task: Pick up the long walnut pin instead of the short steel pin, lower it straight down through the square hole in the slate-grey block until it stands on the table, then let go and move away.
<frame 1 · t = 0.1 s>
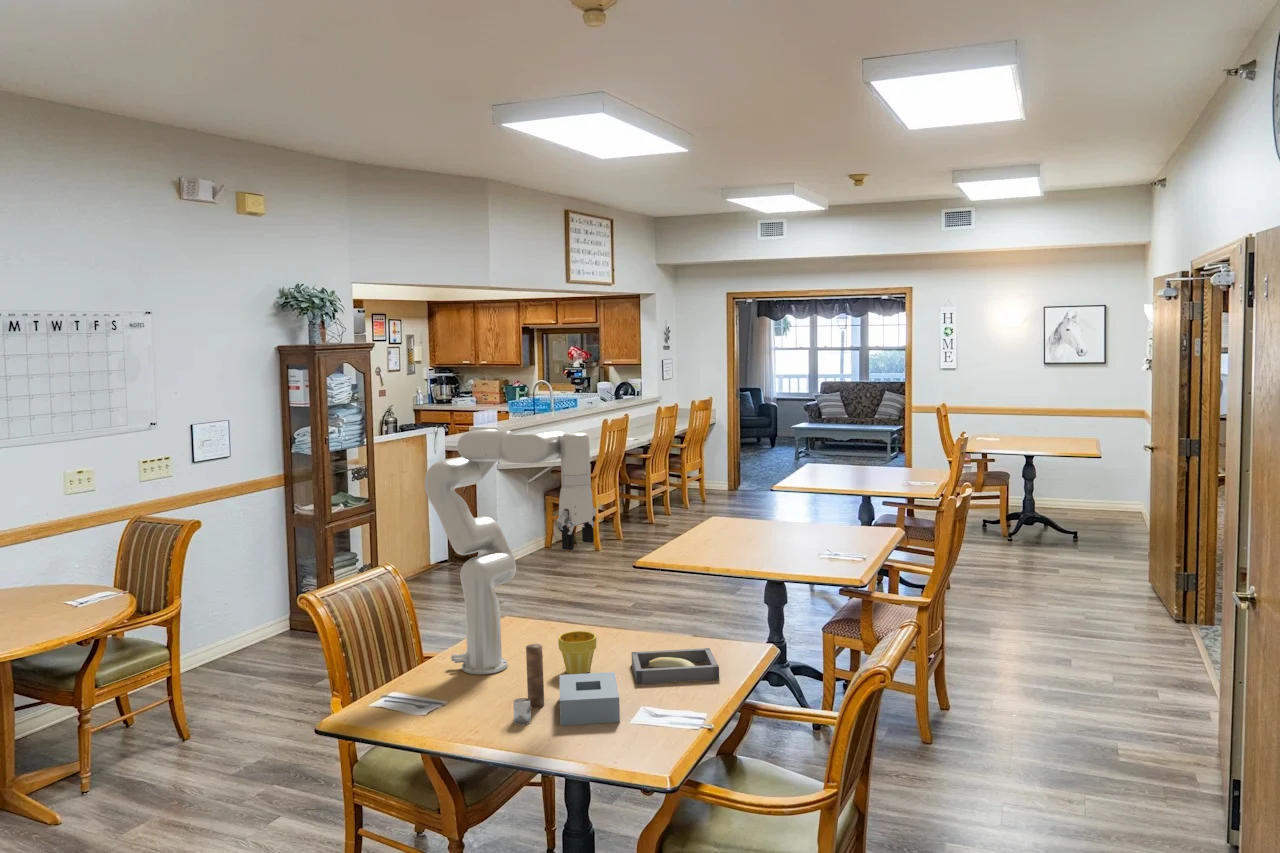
hand: (578, 545, 247), 37 cm above the table, tool pointing down, fingers open, 9 cm apart
long walnut pin: (536, 705, 236), on the table
hole block: (589, 709, 233), on the table
short steel pin: (522, 721, 226), on the table
fruit: (673, 674, 259), resting in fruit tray
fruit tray: (674, 671, 258), on the table
plant pot: (578, 671, 261), on the table
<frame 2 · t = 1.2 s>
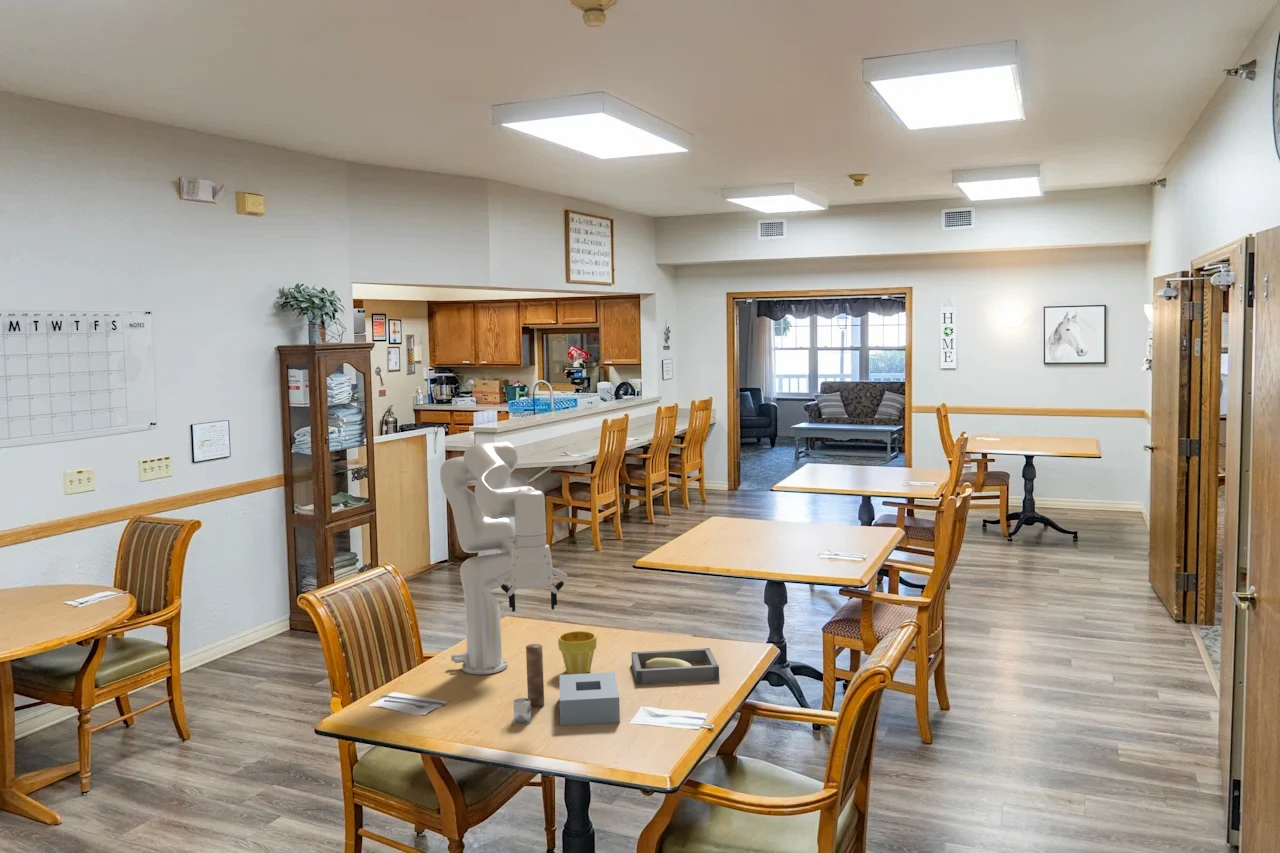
hand: (533, 609, 235), 24 cm above the table, tool pointing down, fingers open, 9 cm apart
fruit: (670, 674, 258), resting in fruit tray
everything else where it was.
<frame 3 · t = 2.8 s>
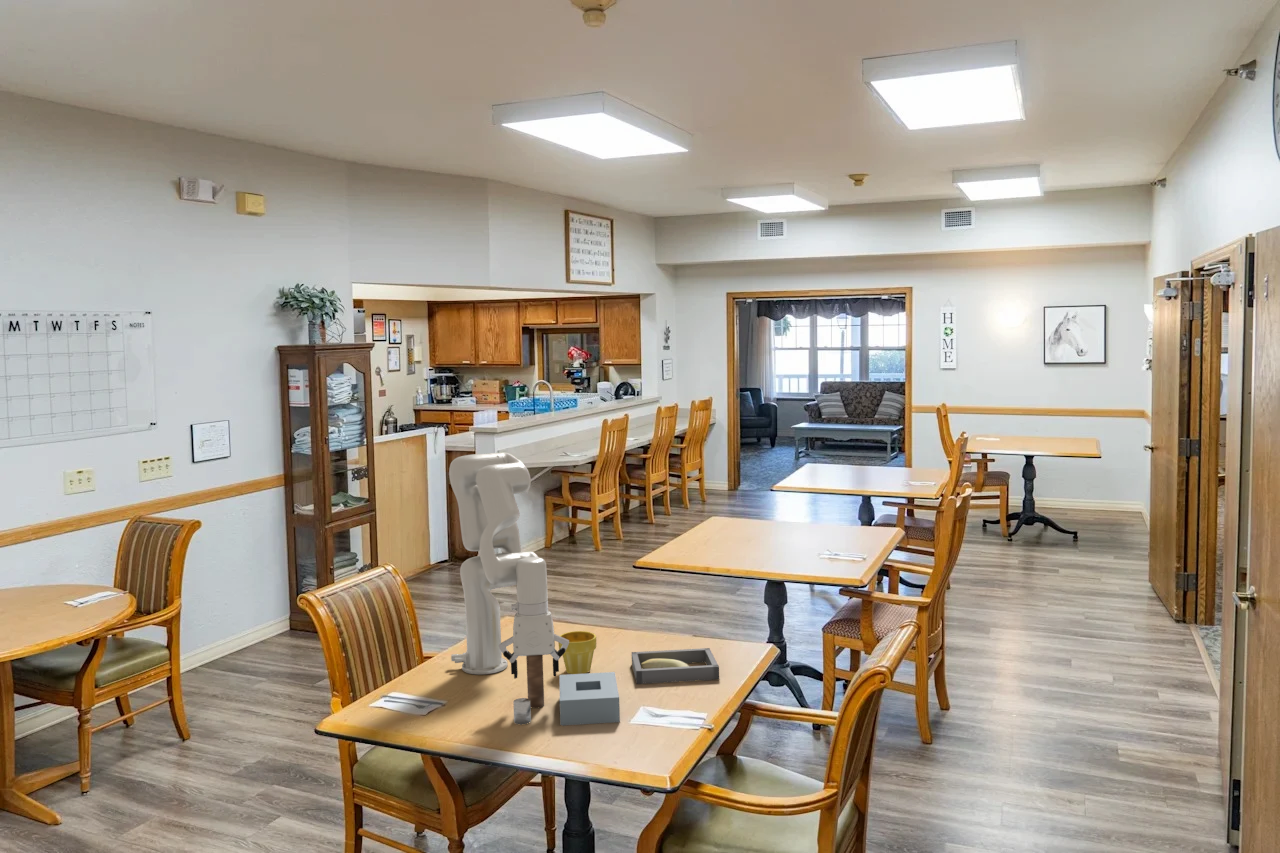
hand: (535, 675, 236), 8 cm above the table, tool pointing down, fingers open, 9 cm apart
fruit: (666, 675, 258), resting in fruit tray
everything else where it was.
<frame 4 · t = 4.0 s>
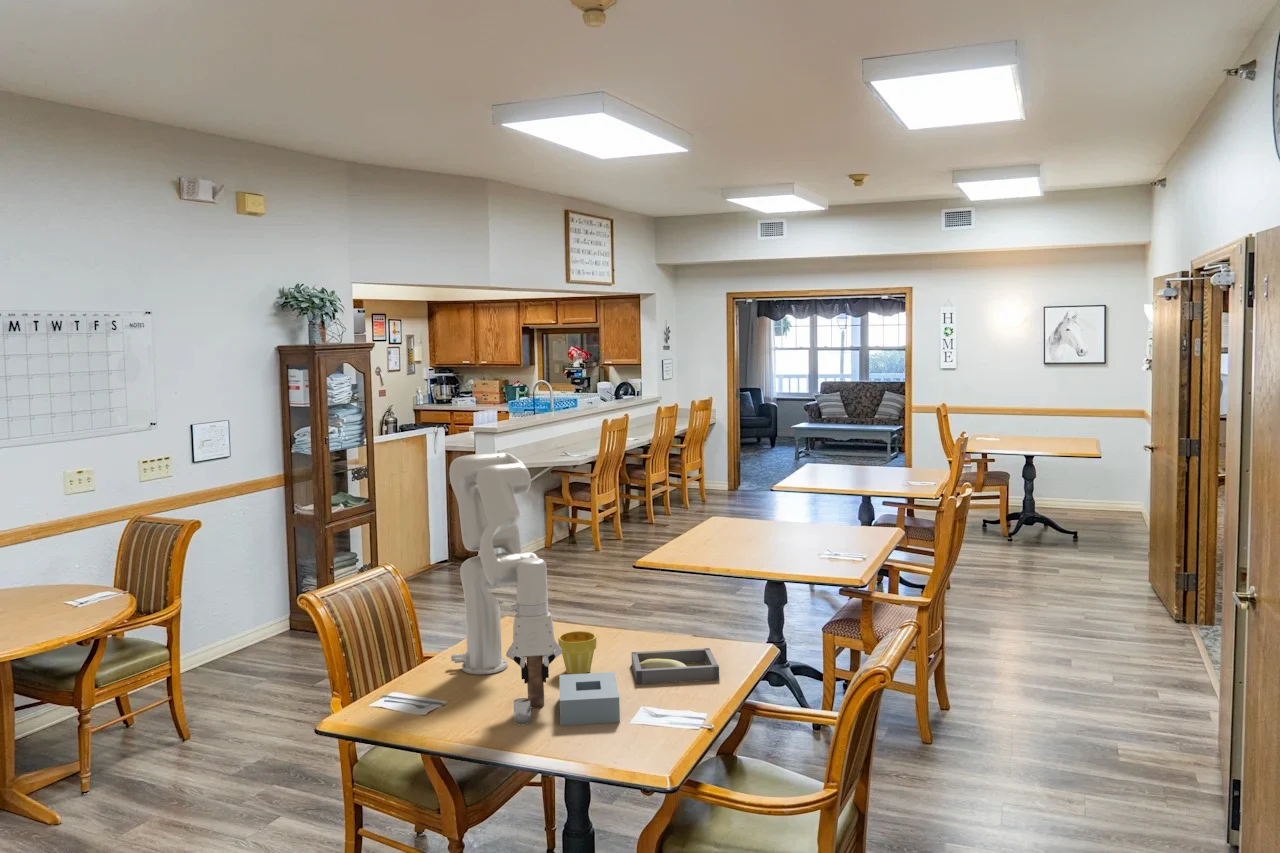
hand: (535, 680, 236), 6 cm above the table, tool pointing down, fingers closed on long walnut pin, 4 cm apart
long walnut pin: (536, 705, 236), on the table, touching gripper
fruit: (664, 675, 258), resting in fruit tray
everything else where it was.
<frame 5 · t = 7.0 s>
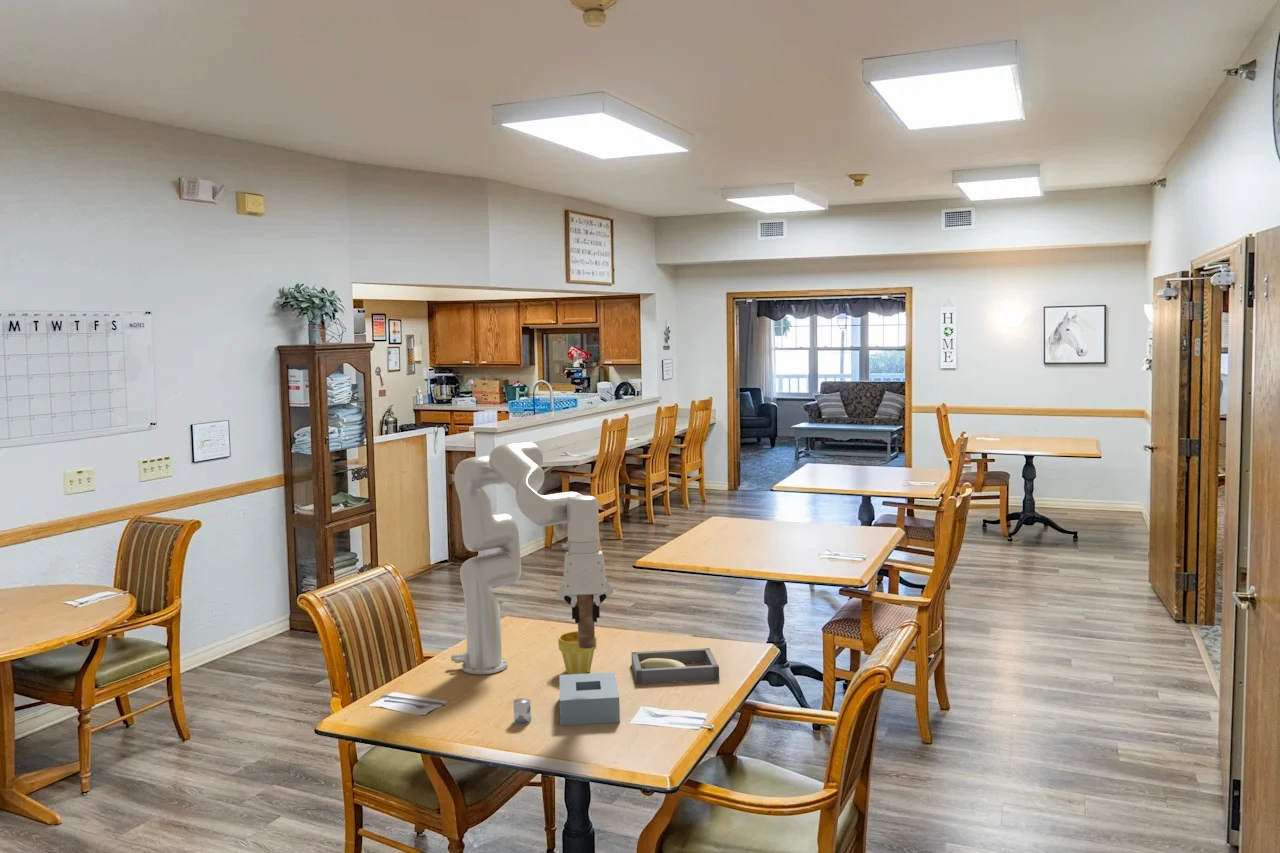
hand: (586, 620, 231), 22 cm above the table, tool pointing down, fingers closed on long walnut pin, 4 cm apart
long walnut pin: (586, 646, 231), point 16 cm above the table, touching gripper
fruit: (664, 675, 258), resting in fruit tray
everything else where it was.
when the fingers open (8 cm above the table, at t = 11.3 s): long walnut pin drops 2 cm, on the table.
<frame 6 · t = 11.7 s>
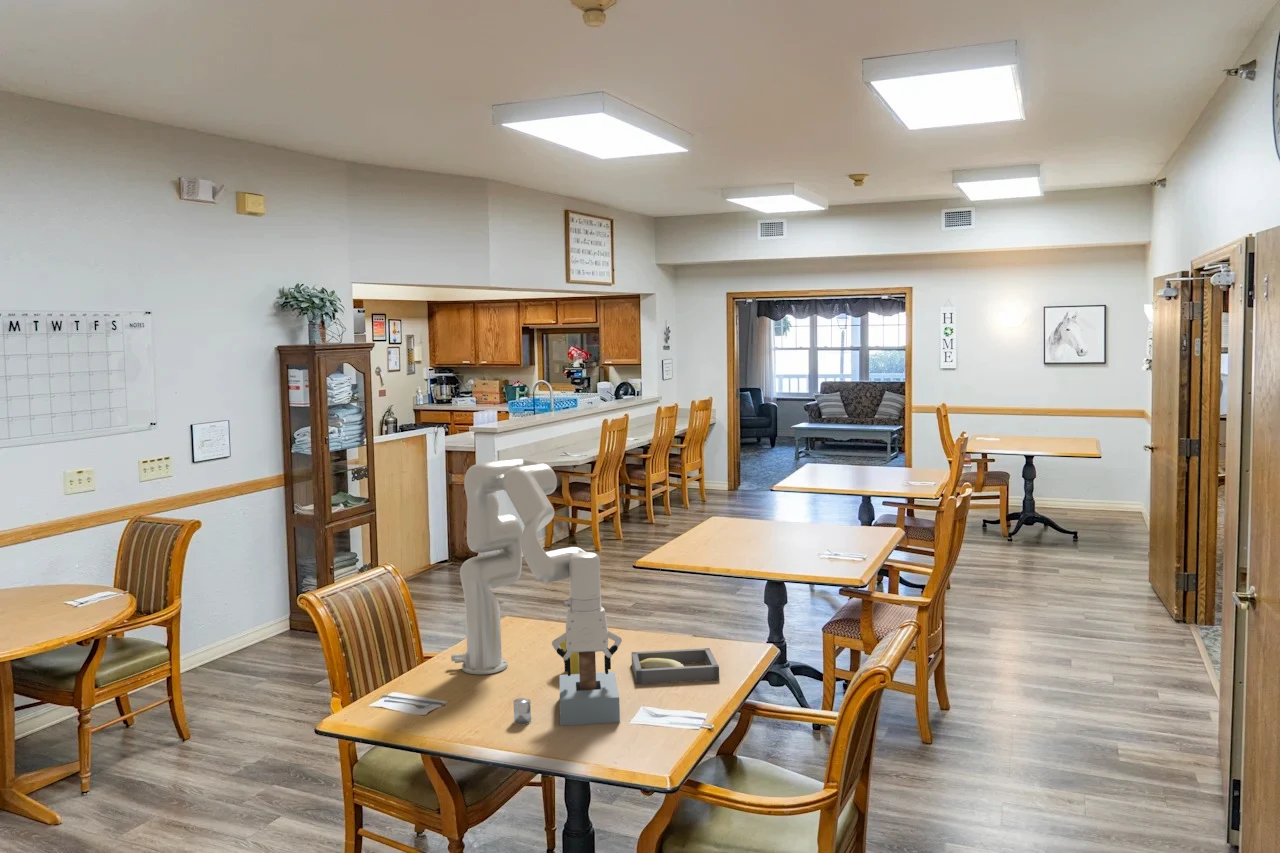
hand: (587, 673, 232), 9 cm above the table, tool pointing down, fingers open, 8 cm apart
long walnut pin: (588, 709, 233), on the table
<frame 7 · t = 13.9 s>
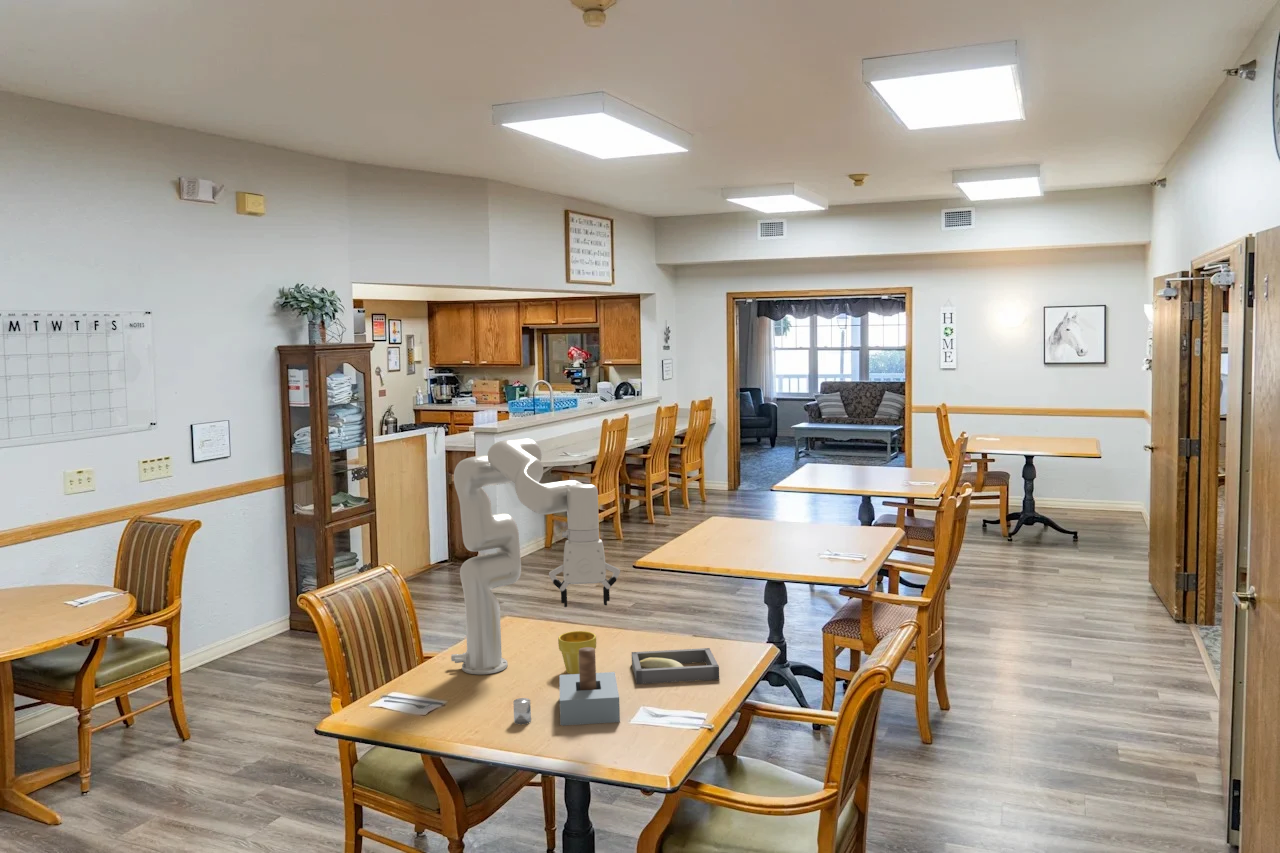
hand: (585, 604, 231), 26 cm above the table, tool pointing down, fingers open, 9 cm apart
fruit: (662, 674, 258), resting in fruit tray
everything else where it was.
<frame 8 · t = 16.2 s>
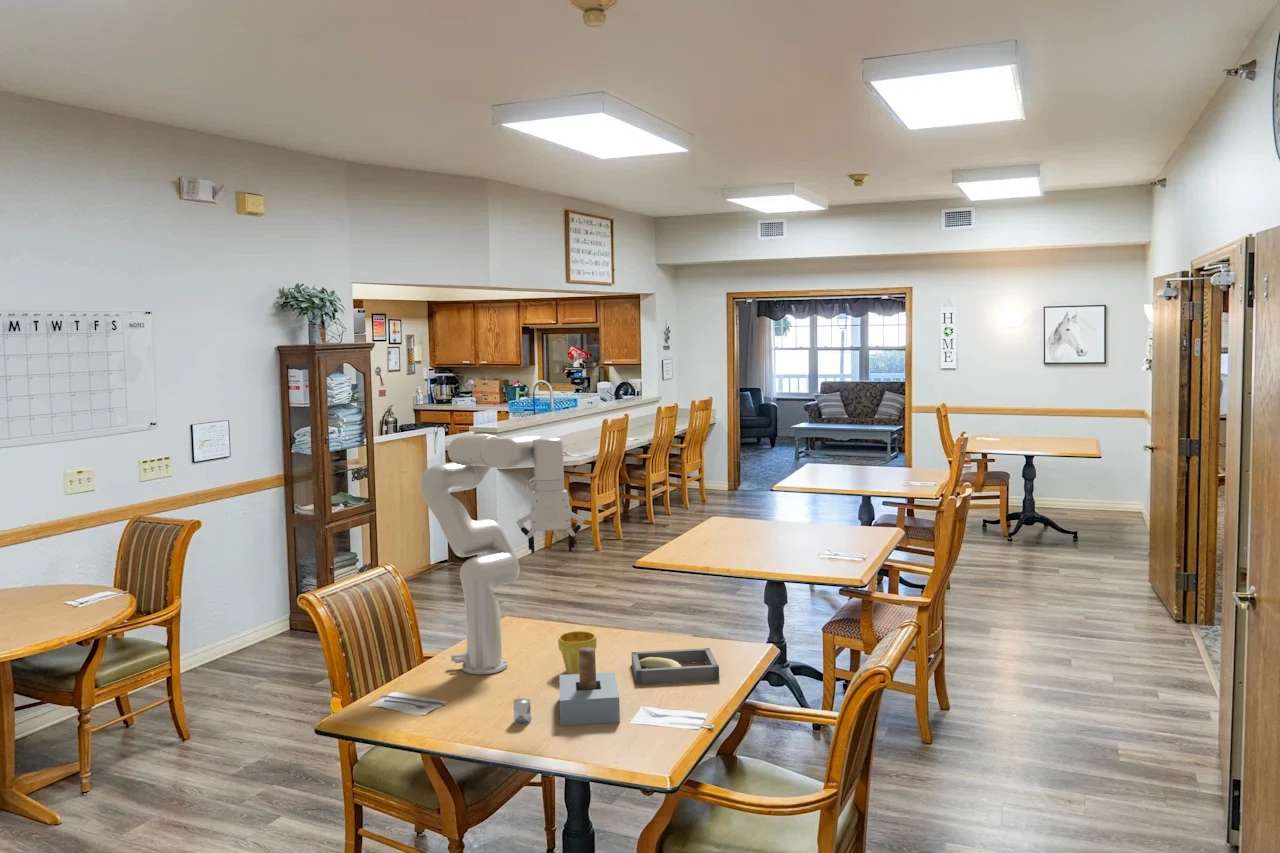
hand: (551, 551, 245), 36 cm above the table, tool pointing down, fingers open, 9 cm apart
at the end: long walnut pin 0.1 cm off-centre on the hole block, point 0.0 cm above the hole block's base; long walnut pin tilted 0°; short steel pin moved 0.1 cm from its start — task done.
